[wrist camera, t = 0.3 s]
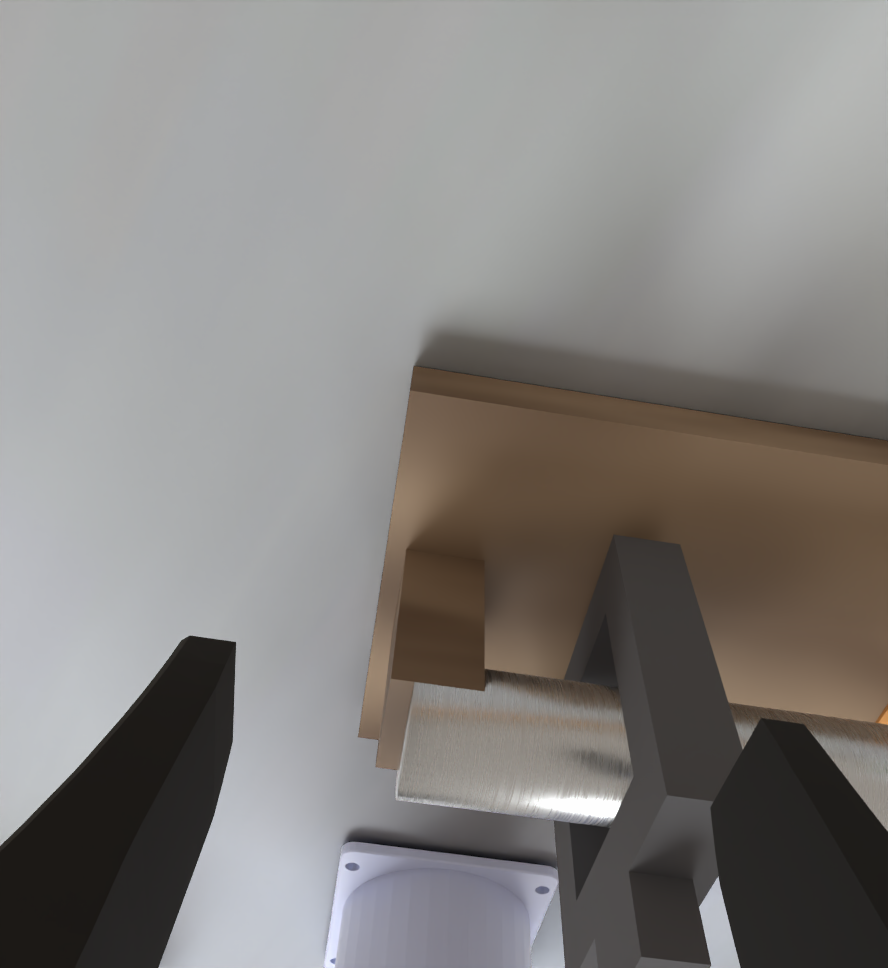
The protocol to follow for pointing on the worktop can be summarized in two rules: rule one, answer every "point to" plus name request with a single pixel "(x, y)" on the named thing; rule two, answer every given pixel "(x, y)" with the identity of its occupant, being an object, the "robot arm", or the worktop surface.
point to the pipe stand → (574, 574)
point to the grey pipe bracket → (649, 769)
